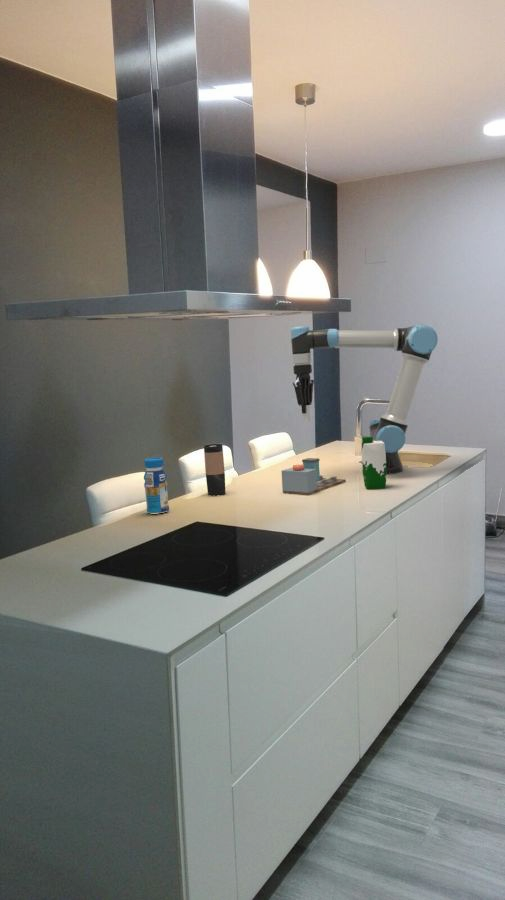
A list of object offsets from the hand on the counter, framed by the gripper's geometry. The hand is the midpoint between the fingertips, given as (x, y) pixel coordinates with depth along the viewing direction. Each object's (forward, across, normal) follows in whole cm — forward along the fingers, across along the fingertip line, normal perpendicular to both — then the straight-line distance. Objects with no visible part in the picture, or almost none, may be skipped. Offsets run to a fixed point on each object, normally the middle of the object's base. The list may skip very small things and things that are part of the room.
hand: (306, 420), depth 300 cm
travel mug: (+26, +34, -23) cm, 49 cm away
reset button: (+19, +21, +8) cm, 29 cm away
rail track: (+26, +10, +8) cm, 29 cm away
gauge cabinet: (+26, +21, +8) cm, 34 cm away
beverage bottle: (+25, +68, -23) cm, 77 cm away
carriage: (+25, +12, +9) cm, 29 cm away
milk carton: (+26, +4, +32) cm, 42 cm away
